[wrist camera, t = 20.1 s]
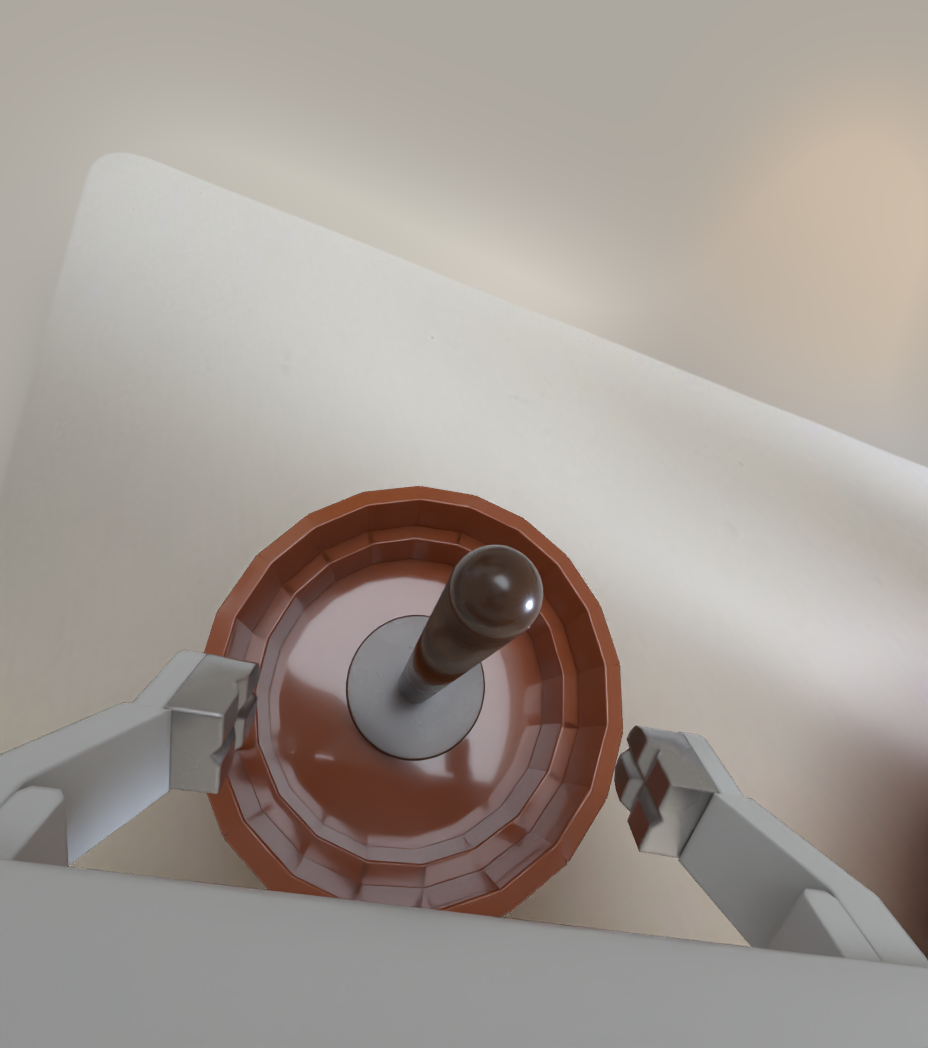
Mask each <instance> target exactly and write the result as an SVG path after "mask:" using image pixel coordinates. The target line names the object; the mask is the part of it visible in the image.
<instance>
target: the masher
mask: <svg viewBox="0 0 928 1048" xmlns="http://www.w3.org/2000/svg"><path fill="white" fill-rule="evenodd" d="M542 600H543V585H542V580H541V577H540V575H539V573H538V570H537V569H536V567H535V566H534V564H533V563H532V562H531V561H530V560H529V559H528V558H527V557H526V556H525V555H524V554H522V553H521V552H519V551H517V550H515V549H513V548H511V547H508V546H504V545H487V546H483V547H480V548H476V549H474V550H472V551H471V552H469V553H468V554H466V555H465V556H464V557H463V558H462V559H461V560H460V561H459V562H458V563H457V564H456V566H455V567H454V569H453V571H452V573H451V575H450V577H449V579H448V581H447V583H446V585H445V587H444V589H443V591H442V593H441V595H440V597H439V599H438V601H437V603H436V605H435V607H434V609H433V611H432V613H431V615H430V616H426V615H407V616H403V617H398V618H395V619H393V620H390V621H388V622H386V623H384V624H382V625H381V626H379V627H378V628H376V629H375V630H374V631H373V632H371V633H370V634H369V635H368V636H367V637H366V638H365V640H364V641H363V642H362V643H361V645H360V646H359V647H358V649H357V650H356V652H355V654H354V656H353V658H352V661H351V664H350V666H349V670H348V674H347V681H346V699H347V705H348V709H349V712H350V716H351V718H352V720H353V722H354V725H355V726H356V728H357V729H358V731H359V733H360V734H361V735H362V736H363V737H364V739H365V740H366V741H367V742H368V743H369V744H370V745H372V746H373V747H374V748H375V749H377V750H379V751H380V752H382V753H384V754H386V755H388V756H390V757H393V758H397V759H400V760H407V761H421V760H427V759H431V758H435V757H438V756H440V755H442V754H444V753H447V752H448V751H450V750H451V749H453V748H454V747H456V746H457V745H458V744H459V743H460V742H462V741H463V739H464V738H465V737H466V736H467V735H468V734H469V733H470V731H471V730H472V728H473V727H474V725H475V723H476V721H477V719H478V717H479V715H480V712H481V709H482V706H483V701H484V695H485V678H484V671H483V667H482V663H481V662H482V661H483V660H485V659H486V658H488V657H489V656H491V655H492V654H493V653H495V652H496V651H498V650H499V649H501V648H502V647H503V646H505V645H506V644H508V643H509V642H511V641H512V640H513V639H515V638H516V637H518V636H519V635H521V634H522V633H523V632H525V631H526V630H527V629H528V628H529V627H530V626H531V625H532V624H533V622H534V621H535V619H536V618H537V616H538V614H539V612H540V609H541V607H542Z"/></svg>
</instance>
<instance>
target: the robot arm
mask: <svg viewBox="0 0 928 1048" xmlns="http://www.w3.org/2000/svg"><path fill="white" fill-rule="evenodd" d="M259 680H260V665H259V663H256V662H251V661H245V660H240V659H235V658H229V657H224V656H219V655H214V654H207V653H201V652H195V651H190V650H182V651H180V652H178V653H177V654H176V655H175V656H174V657H173V658H172V659H171V660H170V661H169V662H168V664H167V665H166V666H165V667H164V668H163V669H162V670H161V671H160V672H159V674H158V675H157V676H156V677H155V678H154V679H153V680H152V681H151V682H150V683H149V685H148V686H147V687H146V688H145V689H144V690H143V691H142V692H141V693H140V695H139V696H138V697H137V698H136V699H135V700H134V701H133V702H132V703H125V702H123V703H120V704H118V705H116V706H113V707H111V708H109V709H106V710H104V711H102V712H99V713H97V714H95V715H92V716H90V717H87V718H85V719H83V720H80V721H78V722H76V723H73V724H71V725H69V726H66V727H64V728H61V729H59V730H57V731H54V732H52V733H50V734H47V735H45V736H43V737H40V738H38V739H36V740H33V741H31V742H28V743H26V744H24V745H21V746H19V747H17V748H14V749H12V750H10V751H7V752H5V753H2V754H0V1048H928V960H927V958H926V957H925V956H924V954H923V953H922V952H921V951H920V949H919V948H918V947H917V945H916V944H915V943H914V942H913V940H912V939H911V938H910V937H909V935H908V934H907V933H906V931H905V930H904V929H903V928H902V926H901V925H900V924H899V923H898V921H897V920H896V919H895V917H894V916H893V915H892V914H891V912H890V911H889V910H888V909H887V907H886V906H885V905H884V903H883V902H882V901H881V900H880V898H879V897H878V896H877V895H875V894H874V893H873V892H872V891H870V890H869V889H868V888H866V887H865V886H864V885H863V884H861V883H860V882H859V881H857V880H856V879H855V878H854V877H852V876H851V875H850V874H848V873H847V872H846V871H845V870H843V869H842V868H841V867H839V866H838V865H837V864H836V863H834V862H833V861H832V860H830V859H829V858H828V857H827V856H825V855H824V854H823V853H821V852H820V851H819V850H818V849H816V848H815V847H814V846H812V845H811V844H810V843H808V842H807V841H806V840H805V839H803V838H802V837H801V836H799V835H798V834H797V833H796V832H794V831H793V830H792V829H790V828H789V827H788V826H787V825H785V824H784V823H783V822H781V821H780V820H779V819H778V818H776V817H775V816H774V815H772V814H771V813H770V812H769V811H767V810H766V809H765V808H763V807H762V806H761V805H760V804H758V803H757V802H756V801H754V800H753V799H752V798H747V797H744V795H743V794H742V792H741V791H740V789H739V788H738V786H737V785H736V783H735V782H734V780H733V779H732V777H731V776H730V774H729V773H728V771H727V770H726V768H725V767H724V765H723V764H722V762H721V761H720V759H719V758H718V756H717V755H716V753H715V752H714V750H713V749H712V747H711V746H710V744H709V743H708V741H707V740H706V739H705V738H704V737H702V736H701V735H698V734H690V733H683V732H672V731H666V730H660V729H654V728H647V727H641V726H635V727H634V728H633V729H632V730H631V731H630V733H629V735H628V737H627V742H628V744H629V747H630V748H629V749H628V750H626V751H625V752H623V753H622V754H620V756H619V758H618V761H617V764H616V766H615V786H616V791H617V794H618V797H619V800H620V802H621V803H622V804H623V805H624V806H625V807H626V808H627V809H628V810H629V811H630V812H631V813H630V815H629V818H628V823H629V826H630V829H631V831H632V834H633V836H634V839H635V842H636V844H637V847H638V849H639V852H645V853H651V854H657V855H663V856H669V857H675V858H679V860H678V861H679V862H680V863H681V864H682V865H683V866H684V868H685V869H686V870H687V871H688V872H689V874H690V875H691V876H692V877H693V878H694V879H695V881H696V882H697V883H698V884H699V885H700V887H701V888H702V889H703V890H704V891H705V892H706V894H707V895H708V896H709V897H710V898H711V900H712V901H713V902H714V903H715V904H716V905H717V907H718V908H719V909H720V910H721V911H722V913H723V914H724V915H725V916H726V917H727V918H728V920H729V921H730V922H731V923H732V924H733V926H734V927H735V928H736V929H737V930H738V931H739V933H740V934H741V935H742V936H743V937H744V939H745V940H746V941H747V942H748V943H749V944H750V946H751V947H748V946H739V945H731V944H722V943H714V942H706V941H697V940H689V939H680V938H672V937H663V936H655V935H646V934H638V933H629V932H621V931H612V930H604V929H595V928H587V927H578V926H569V925H561V924H552V923H544V922H535V921H527V920H518V919H510V918H501V917H493V916H484V915H476V914H467V913H459V912H450V911H442V910H433V909H425V908H416V907H408V906H399V905H391V904H382V903H374V902H365V901H357V900H348V899H340V898H331V897H323V896H314V895H306V894H297V893H289V892H280V891H272V890H263V889H255V888H246V887H238V886H229V885H221V884H212V883H203V882H195V881H186V880H178V879H169V878H161V877H152V876H144V875H135V874H127V873H118V872H110V871H101V870H93V869H84V868H76V867H69V865H70V864H71V863H72V862H74V861H75V860H76V859H78V858H79V857H80V856H82V855H83V854H85V853H86V852H87V851H89V850H90V849H91V848H93V847H94V846H95V845H97V844H98V843H100V842H101V841H102V840H104V839H105V838H106V837H108V836H109V835H110V834H112V833H113V832H114V831H116V830H117V829H119V828H120V827H121V826H123V825H124V824H125V823H127V822H128V821H129V820H131V819H132V818H134V817H135V816H136V815H138V814H139V813H140V812H142V811H143V810H144V809H146V808H147V807H149V806H150V805H151V804H153V803H154V802H155V801H157V800H158V799H159V798H161V797H162V796H164V795H165V794H166V793H168V792H169V789H176V790H185V791H195V792H204V793H213V794H218V792H219V790H220V788H221V787H222V785H223V783H224V781H225V779H226V777H227V775H228V773H229V771H230V769H231V768H232V766H233V761H234V751H235V750H237V749H238V748H240V747H242V746H243V745H244V743H245V740H246V738H247V736H248V734H249V732H250V729H251V726H252V723H253V721H254V717H255V712H256V708H257V700H258V697H257V696H256V694H255V693H254V689H255V687H256V685H257V683H258V682H259Z"/></svg>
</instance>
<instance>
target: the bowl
mask: <svg viewBox="0 0 928 1048" xmlns="http://www.w3.org/2000/svg"><path fill="white" fill-rule="evenodd" d="M487 545H504V546H508V547H511V548H513V549H515V550H517V551H519V552H521V553H522V554H524V555H525V556H526V557H527V558H528V559H529V560H530V561H531V562H532V563H533V564H534V566H535V567H536V569H537V570H538V573H539V575H540V577H541V580H542V585H543V600H542V607H541V609H540V612H539V614H538V616H537V618H536V619H535V621H534V622H533V624H532V625H531V626H530V627H529V628H528V629H527V630H526V631H525V632H523V633H522V634H521V635H519V636H518V637H516V638H515V639H513V640H512V641H511V642H509V643H508V644H506V645H505V646H503V647H502V648H501V649H499V650H498V651H496V652H495V653H493V654H492V655H491V656H489V657H488V658H486V659H485V660H483V661H482V662H481V663H482V667H483V671H484V678H485V695H484V701H483V706H482V709H481V712H480V715H479V717H478V719H477V721H476V723H475V725H474V727H473V728H472V730H471V731H470V733H469V734H468V735H467V736H466V737H465V738H464V739H463V741H462V742H460V743H459V744H458V745H457V746H456V747H454V748H453V749H451V750H450V751H448V752H447V753H444V754H442V755H440V756H438V757H435V758H431V759H427V760H421V761H407V760H400V759H397V758H393V757H390V756H388V755H386V754H384V753H382V752H380V751H379V750H377V749H375V748H374V747H373V746H372V745H370V744H369V743H368V742H367V741H366V740H365V739H364V737H363V736H362V735H361V734H360V733H359V731H358V729H357V728H356V726H355V725H354V722H353V720H352V718H351V716H350V712H349V709H348V705H347V699H346V681H347V674H348V670H349V666H350V664H351V661H352V658H353V656H354V654H355V652H356V650H357V649H358V647H359V646H360V645H361V643H362V642H363V641H364V640H365V638H366V637H367V636H368V635H369V634H370V633H371V632H373V631H374V630H375V629H376V628H378V627H379V626H381V625H382V624H384V623H386V622H388V621H390V620H393V619H395V618H398V617H403V616H407V615H426V616H430V615H431V613H432V611H433V609H434V607H435V605H436V603H437V601H438V599H439V597H440V595H441V593H442V591H443V589H444V587H445V585H446V583H447V581H448V579H449V577H450V575H451V573H452V571H453V569H454V567H455V566H456V564H457V563H458V562H459V561H460V560H461V559H462V558H463V557H464V556H465V555H466V554H468V553H469V552H471V551H472V550H474V549H476V548H480V547H483V546H487ZM599 605H600V604H599V602H598V601H597V599H596V598H595V596H594V595H593V593H592V592H591V590H590V589H589V587H588V586H587V584H586V583H585V581H584V580H583V578H582V577H581V575H580V574H579V572H578V571H577V569H576V568H575V566H574V565H573V563H572V562H571V560H570V559H569V558H568V557H567V555H566V554H565V553H563V552H562V551H561V550H560V549H559V548H558V547H556V546H555V545H554V544H553V543H552V542H551V541H550V540H548V539H547V538H546V537H545V536H544V535H543V534H541V533H540V532H539V531H538V530H537V529H536V528H535V527H533V526H532V525H531V524H530V523H529V522H528V521H526V520H525V519H524V518H522V517H520V516H518V515H516V514H514V513H511V512H509V511H507V510H505V509H503V508H501V507H499V506H497V505H495V504H492V503H490V502H488V501H486V500H484V499H482V498H480V497H478V496H474V495H470V494H464V493H458V492H452V491H446V490H440V489H435V488H429V487H423V486H421V487H420V486H414V487H405V488H395V489H386V490H377V491H368V492H362V493H359V494H357V495H354V496H352V497H349V498H347V499H345V500H342V501H340V502H337V503H335V504H332V505H330V506H327V507H325V508H323V509H320V510H318V511H315V512H313V513H310V514H308V516H306V517H304V518H303V519H302V520H300V521H299V522H298V523H297V524H295V525H294V526H293V527H292V528H290V529H289V530H288V531H287V532H285V533H284V534H283V535H282V536H280V537H279V538H278V539H277V540H275V541H274V542H273V543H272V544H270V545H269V546H268V547H267V548H265V549H264V550H263V551H261V552H260V553H259V554H258V555H257V556H256V557H255V558H254V560H253V561H252V562H251V564H250V565H249V567H248V568H247V570H246V571H245V572H244V574H243V575H242V577H241V578H240V580H239V581H238V582H237V584H236V585H235V587H234V588H233V590H232V591H231V593H230V594H229V595H228V597H227V598H226V600H225V601H224V603H223V604H222V605H221V607H220V608H219V610H218V612H217V613H216V617H215V620H214V623H213V626H212V629H211V632H210V635H209V638H208V642H207V645H206V648H205V651H204V653H207V654H214V655H219V656H224V657H229V658H235V659H240V660H245V661H251V662H256V663H259V665H260V680H259V682H258V683H257V685H256V687H255V689H254V693H255V694H256V696H257V697H258V700H257V708H256V712H255V717H254V721H253V723H252V726H251V729H250V732H249V734H248V736H247V738H246V740H245V743H244V745H243V746H242V747H240V748H238V749H237V750H235V751H234V761H233V766H232V768H231V769H230V771H229V773H228V775H227V777H226V779H225V781H224V783H223V785H222V787H221V788H220V790H219V792H218V794H213V793H207V795H208V798H209V801H210V803H211V806H212V809H213V812H214V814H215V817H216V820H217V823H218V825H219V828H220V831H221V834H222V836H223V837H224V836H225V837H224V839H225V841H226V842H227V843H228V844H229V845H230V846H231V848H232V849H233V850H234V851H235V852H236V853H237V854H238V856H239V857H240V858H241V859H242V860H243V861H244V862H245V864H246V865H247V866H248V867H249V868H250V869H251V870H252V872H253V873H254V874H255V875H256V876H257V877H258V878H259V880H260V881H261V882H262V883H263V884H264V885H265V886H266V888H267V889H268V890H272V891H280V892H289V893H297V894H306V895H314V896H323V897H331V898H340V899H348V900H357V901H365V902H374V903H382V904H391V905H399V906H408V907H416V908H425V909H433V910H442V911H450V912H459V913H467V914H476V915H484V916H493V917H501V916H504V915H506V914H507V913H509V912H511V911H512V910H514V909H515V908H516V907H517V906H518V905H519V904H521V903H522V902H523V901H524V900H525V899H527V898H528V897H529V896H530V895H531V894H532V893H534V892H535V891H536V890H537V889H538V888H540V887H541V886H542V885H543V884H544V883H546V882H547V881H548V880H549V879H550V878H551V877H553V876H554V875H555V874H556V873H557V872H559V871H560V870H561V869H562V868H563V867H564V866H566V865H567V862H569V861H570V859H571V857H572V856H573V854H574V852H575V851H576V849H577V847H578V846H579V844H580V842H581V841H582V839H583V837H584V836H585V834H586V832H587V831H588V829H589V827H590V826H591V824H592V822H593V821H594V819H595V817H596V816H597V814H598V812H599V811H600V809H601V807H602V806H603V804H604V802H605V799H607V796H608V792H609V788H610V784H611V780H612V776H613V772H614V767H615V763H616V759H617V755H618V751H619V747H620V743H621V738H622V734H623V731H622V730H623V718H622V697H621V675H620V665H619V660H618V657H617V654H616V650H615V647H614V644H613V641H612V638H611V635H610V632H609V629H608V626H607V623H606V620H605V617H604V614H603V611H602V608H601V606H599Z"/></svg>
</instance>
